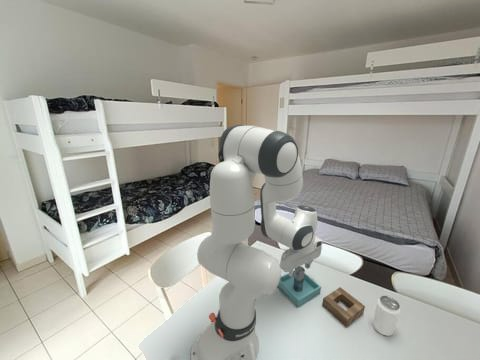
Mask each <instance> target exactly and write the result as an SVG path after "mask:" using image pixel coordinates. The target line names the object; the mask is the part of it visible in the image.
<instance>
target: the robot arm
mask: <svg viewBox="0 0 480 360" xmlns="http://www.w3.org/2000/svg"><path fill="white" fill-rule="evenodd" d="M218 150H219V151H218V153H217V154H218V155H217V156H218V159H219V160H218V161H220V162H218V163H217V164H215V166H214V167H213V168H212V170H211V171H210V173H211V174H210V180H209V203H210V213H211V214H210V215H211V223H212V231H211V234H210V235H208V236H207V237H205V238H204V239H203V240H202V241H201V242H200V244H199V245H198V246H199V247H198V248H197V253H196V254H197V255H196V256H197V262H198V264H199V265H201V266H202V268H204V269H205V270H206V271H208V272H209V273H211V274H212V275H214V276H217V277H219V278H221V279H223V280H225V281H226V282H227V283H225V284H224V285H223V286H222V288H221V289H220V292H219V297H218V298H219V309H218V312H217V314H215V313H214V312H211V313H209V315H208V318H209V320H210V322H211V323H210V324H209V325H208V326H207V327H206V329H205V330H203V331H202V333H200V335H199V337H198V340H197V341H195V343H193V344H192V346H191V349H190V360H256V358H257V355H258V353H259V348H260V344H259V343H260V342H259V339H258V336H257V332H256V324H257V312H256V301H257V298H259V297H263V296H268V295H270V294H272V293H273V292H275V290H276V289H277V288H278V287H277V286H278V284H279V282H280V278H281V276H282V271H283V272H284V273H286V274H287V273H289V276H290V277H293V276H294V272H293V270H295V268H297V267H299V266H301V267H302V266H303V265H304V267H305V268H306V269H307V270H308V269H310V268H311V265H312V263H313V261H314V260H316V259H318V258H320V256H321V254H322V250H323V243H324V240H323V239H322V238H320V237H318V236H316V235H315V234H316V232H317V228H318V227H317V226H318V212H317V210H316V209H315V208H313V207H311V206H308V205H304V204H303V205H301V204H300V205H297V206H296V208H295V210H294V216H293V219H290V218H288V217H286V216H283V215H281V214H279V213H278V212H277V203H287V202H290V201H292V200H293V199H296V198H297V197H298V196H299V194H300V193H301V191H302V190H303V188H304V187H303V186H304V177H303V170H302V167H303V166H302V163H301V158H300V155H299V147H298V145H297V142H296V140H295V139H294V137H292V135H290V134H288V133H286V132H283V131H282V130H281V131H280V130H273V129H269V128H265V127H262V126H259V125H245V124H235V125H230V126H229V127H227V128H225V130H223V132H222V133H221V136H220V139H219V144H218ZM256 174H260V175H264V180H265V182H264V183H263V184H262V186H261V188H260V194H259V196H260V197H259V201H260V215H261V220H260V232H261V234H262V236H263V237H265V238H267V239H270V240H272V241H275V242H276V243H279V244H281V245H283V246H285V247H287V249H285V250H284V252H282V254H281V256H280V257H281V258H280V262H279V260H278V259H277V258H276V257H274V256H272V255H271V254H269V253H268V252H266V251H264V250H262V249H259V248H257V247H255V246H251V245H249V244H246V243H243V242H244V241H246V240H248V239H249V238H250V237H251V236H252V235H253V232H255V228H256V214H255V213H256V212H255V210H256V209H255V195H254V194H255V193H254V185H253V184H254V180H255V177H256Z"/></svg>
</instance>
